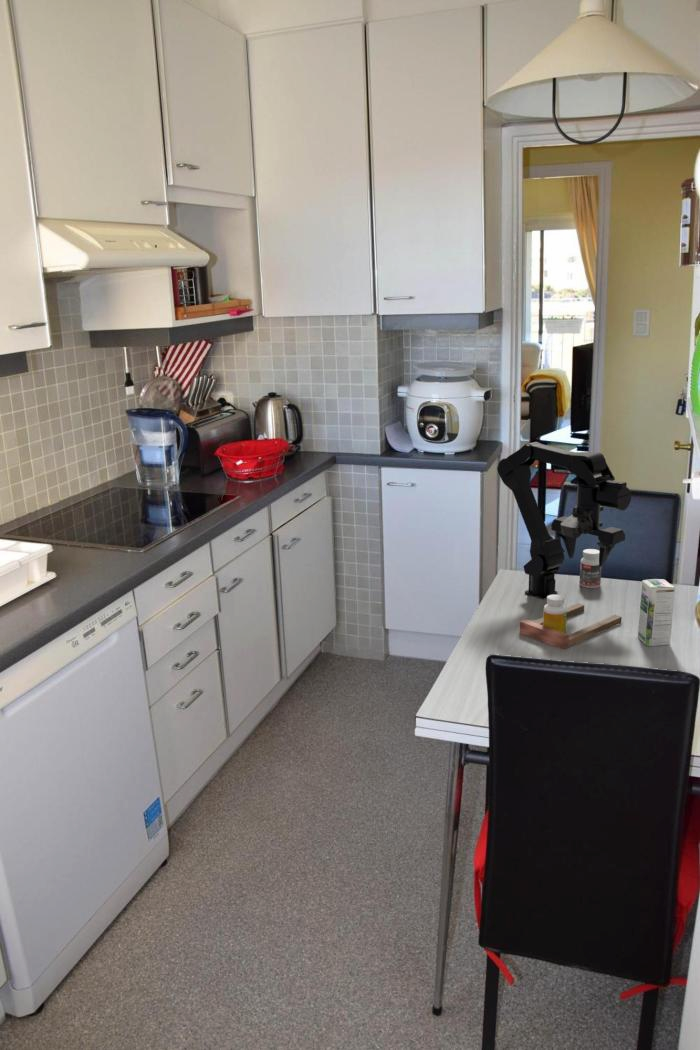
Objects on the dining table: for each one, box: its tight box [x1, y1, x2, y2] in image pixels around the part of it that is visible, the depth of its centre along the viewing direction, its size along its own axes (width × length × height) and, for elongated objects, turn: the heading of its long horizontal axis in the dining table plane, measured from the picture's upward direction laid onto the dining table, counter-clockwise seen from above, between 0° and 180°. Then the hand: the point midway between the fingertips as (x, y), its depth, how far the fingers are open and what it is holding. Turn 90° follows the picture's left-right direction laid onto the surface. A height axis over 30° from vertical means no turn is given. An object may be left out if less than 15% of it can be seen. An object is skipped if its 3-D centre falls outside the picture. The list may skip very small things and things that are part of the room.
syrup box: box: [637, 578, 676, 647], centre depth 196 cm, size 6×6×14 cm
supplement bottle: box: [542, 594, 567, 634], centre depth 202 cm, size 5×5×10 cm
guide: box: [519, 602, 623, 650], centre depth 207 cm, size 13×23×3 cm, turn 129°
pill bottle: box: [578, 548, 603, 589], centre depth 234 cm, size 6×6×10 cm
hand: (585, 562), depth 217 cm, fingers open, 9 cm apart
